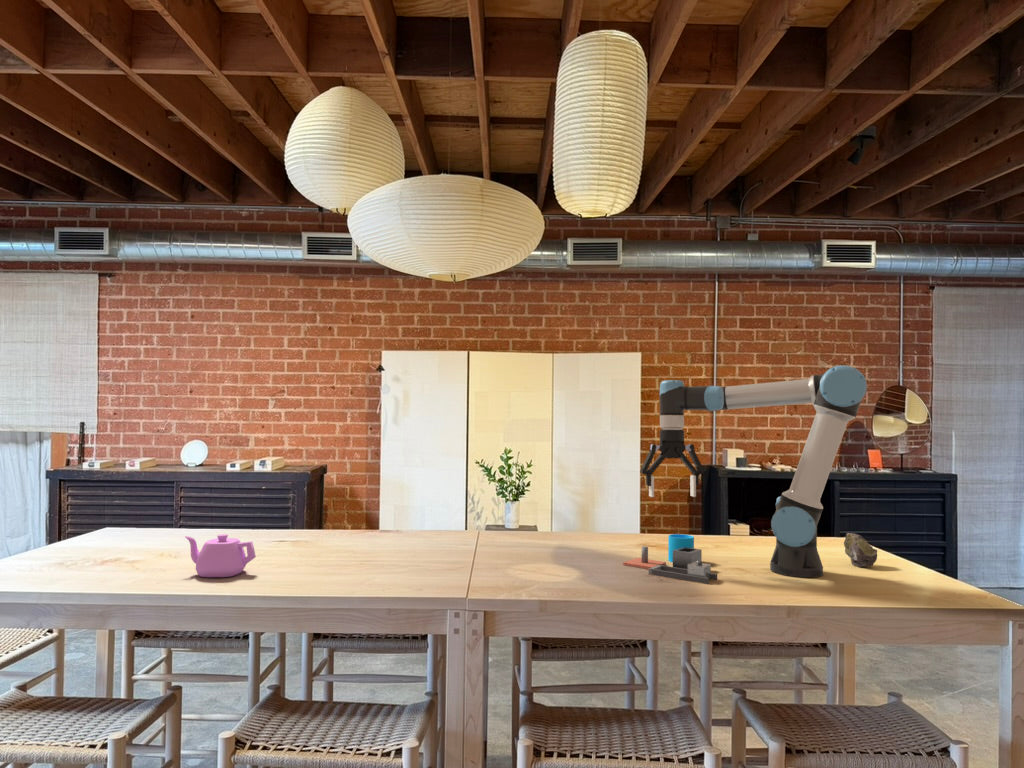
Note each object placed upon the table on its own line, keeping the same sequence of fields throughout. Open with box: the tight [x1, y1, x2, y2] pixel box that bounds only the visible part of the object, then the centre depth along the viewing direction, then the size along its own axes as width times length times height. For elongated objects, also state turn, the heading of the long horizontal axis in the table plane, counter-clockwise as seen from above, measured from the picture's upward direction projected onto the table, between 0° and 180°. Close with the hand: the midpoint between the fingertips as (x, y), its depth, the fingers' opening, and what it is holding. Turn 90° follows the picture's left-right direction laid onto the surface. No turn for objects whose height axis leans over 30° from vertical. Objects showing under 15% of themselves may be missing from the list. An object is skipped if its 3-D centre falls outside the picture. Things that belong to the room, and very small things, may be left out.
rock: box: [843, 532, 878, 568], centre depth 222 cm, size 11×10×10 cm
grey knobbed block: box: [688, 560, 712, 580], centre depth 199 cm, size 5×5×5 cm
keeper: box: [622, 546, 667, 570], centre depth 218 cm, size 10×10×6 cm
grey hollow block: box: [672, 547, 703, 569], centre depth 212 cm, size 6×8×6 cm
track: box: [648, 565, 718, 585], centre depth 202 cm, size 18×8×2 cm, turn 52°
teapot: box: [184, 533, 257, 578], centre depth 195 cm, size 13×20×11 cm
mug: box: [667, 533, 695, 563], centre depth 227 cm, size 12×8×8 cm
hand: (672, 496), depth 215 cm, fingers open, 13 cm apart
